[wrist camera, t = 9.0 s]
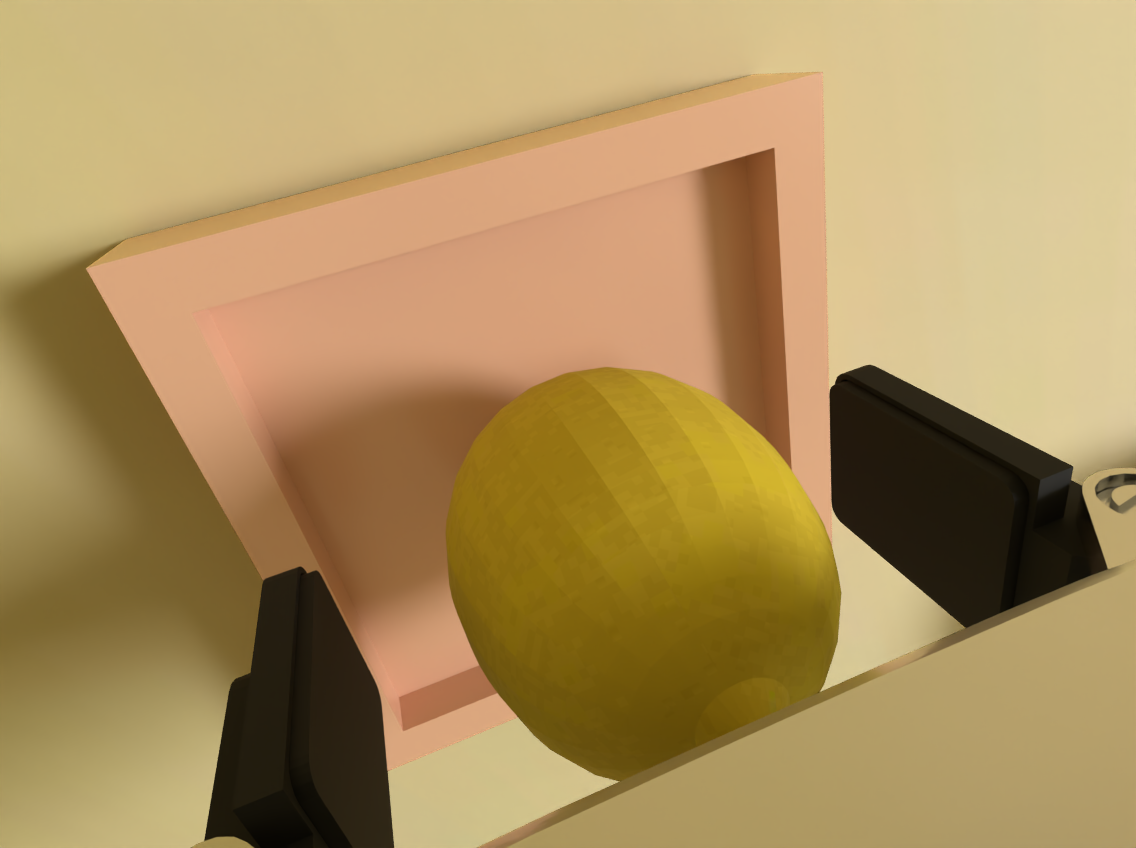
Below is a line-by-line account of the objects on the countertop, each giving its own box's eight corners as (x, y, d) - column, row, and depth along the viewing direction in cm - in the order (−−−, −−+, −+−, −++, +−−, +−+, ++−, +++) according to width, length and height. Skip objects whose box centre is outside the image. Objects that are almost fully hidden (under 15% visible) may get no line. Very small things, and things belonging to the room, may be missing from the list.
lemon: (374, 518, 14) (416, 922, 7) (497, 269, 13) (701, 442, 6) (598, 586, 16) (801, 935, 9) (718, 381, 15) (1056, 601, 8)
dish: (125, 239, 12) (85, 268, 10) (754, 74, 14) (823, 71, 12) (369, 702, 17) (374, 776, 16) (784, 538, 19) (832, 586, 18)
